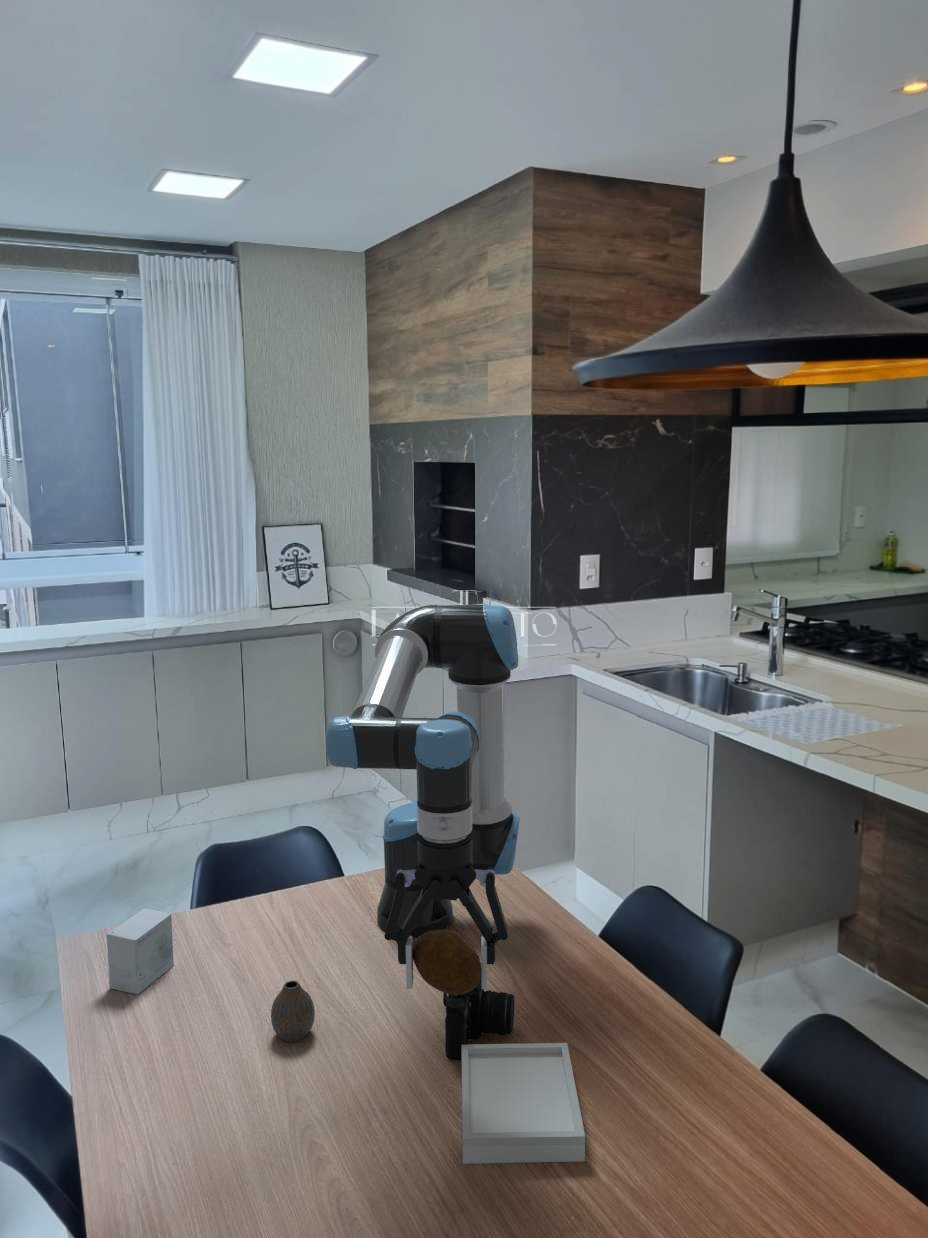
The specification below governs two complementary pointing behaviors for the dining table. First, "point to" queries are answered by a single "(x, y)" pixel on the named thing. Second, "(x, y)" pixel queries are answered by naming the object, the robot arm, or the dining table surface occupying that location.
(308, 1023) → the vase
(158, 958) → the skincare box
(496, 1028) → the camera
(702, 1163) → the dining table surface
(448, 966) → the potato
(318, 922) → the dining table surface
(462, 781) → the robot arm
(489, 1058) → the tray
